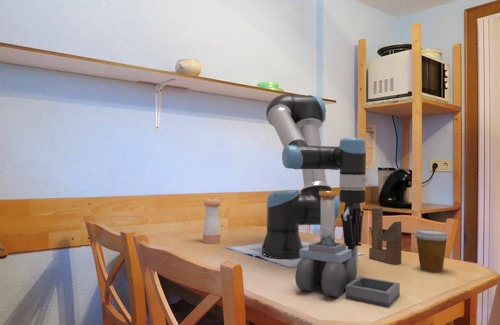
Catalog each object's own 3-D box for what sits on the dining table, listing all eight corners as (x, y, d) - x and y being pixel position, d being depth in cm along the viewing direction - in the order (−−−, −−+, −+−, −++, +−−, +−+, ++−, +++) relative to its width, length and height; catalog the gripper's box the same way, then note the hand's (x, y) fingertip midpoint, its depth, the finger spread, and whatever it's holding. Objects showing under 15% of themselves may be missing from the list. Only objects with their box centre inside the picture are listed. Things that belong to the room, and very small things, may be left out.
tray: (345, 298, 89) (345, 285, 89) (359, 287, 97) (359, 276, 97) (388, 307, 83) (388, 293, 84) (399, 295, 92) (399, 283, 92)
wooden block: (394, 265, 122) (394, 210, 123) (368, 258, 131) (369, 207, 132) (401, 263, 124) (402, 209, 125) (375, 257, 133) (376, 206, 134)
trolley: (291, 292, 93) (292, 246, 93) (318, 277, 106) (319, 237, 106) (333, 301, 87) (333, 251, 87) (356, 284, 100) (356, 241, 100)
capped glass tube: (315, 250, 96) (316, 191, 96) (322, 247, 100) (323, 190, 100) (332, 252, 93) (332, 191, 94) (338, 249, 97) (339, 191, 97)
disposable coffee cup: (450, 269, 118) (450, 231, 118) (446, 275, 110) (446, 235, 110) (417, 264, 123) (417, 228, 124) (411, 270, 115) (412, 231, 116)
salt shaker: (199, 241, 159) (200, 196, 159) (213, 239, 164) (213, 196, 164) (209, 244, 153) (210, 197, 154) (223, 242, 158) (224, 197, 159)
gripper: (357, 190, 104) (357, 274, 104) (371, 188, 115) (372, 265, 114) (332, 189, 109) (332, 270, 108) (348, 188, 119) (348, 261, 119)
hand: (352, 267), depth 111 cm, fingers closed
